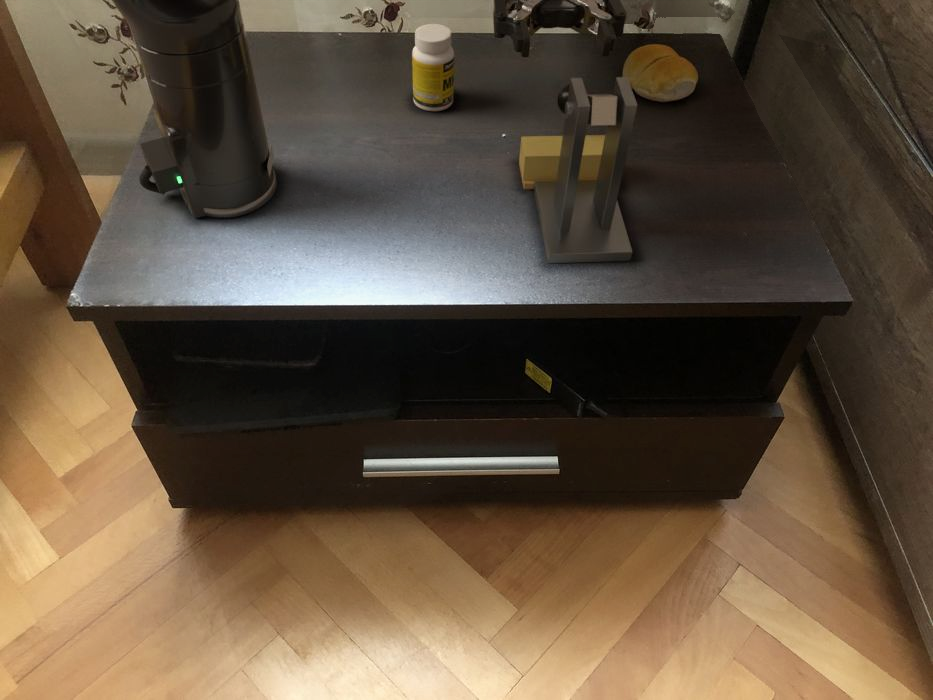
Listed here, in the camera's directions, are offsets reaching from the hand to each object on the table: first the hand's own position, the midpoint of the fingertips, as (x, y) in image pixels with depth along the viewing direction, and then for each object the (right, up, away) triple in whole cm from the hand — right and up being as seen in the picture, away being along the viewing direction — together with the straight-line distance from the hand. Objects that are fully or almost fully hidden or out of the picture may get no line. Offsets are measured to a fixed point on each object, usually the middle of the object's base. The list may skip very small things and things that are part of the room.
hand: (566, 48), depth 81 cm
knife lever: (+1, -10, -7) cm, 12 cm away
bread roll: (+13, +1, +14) cm, 19 cm away
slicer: (+1, -19, -4) cm, 19 cm away
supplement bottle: (-14, -2, +10) cm, 18 cm away
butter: (0, -13, +1) cm, 13 cm away
